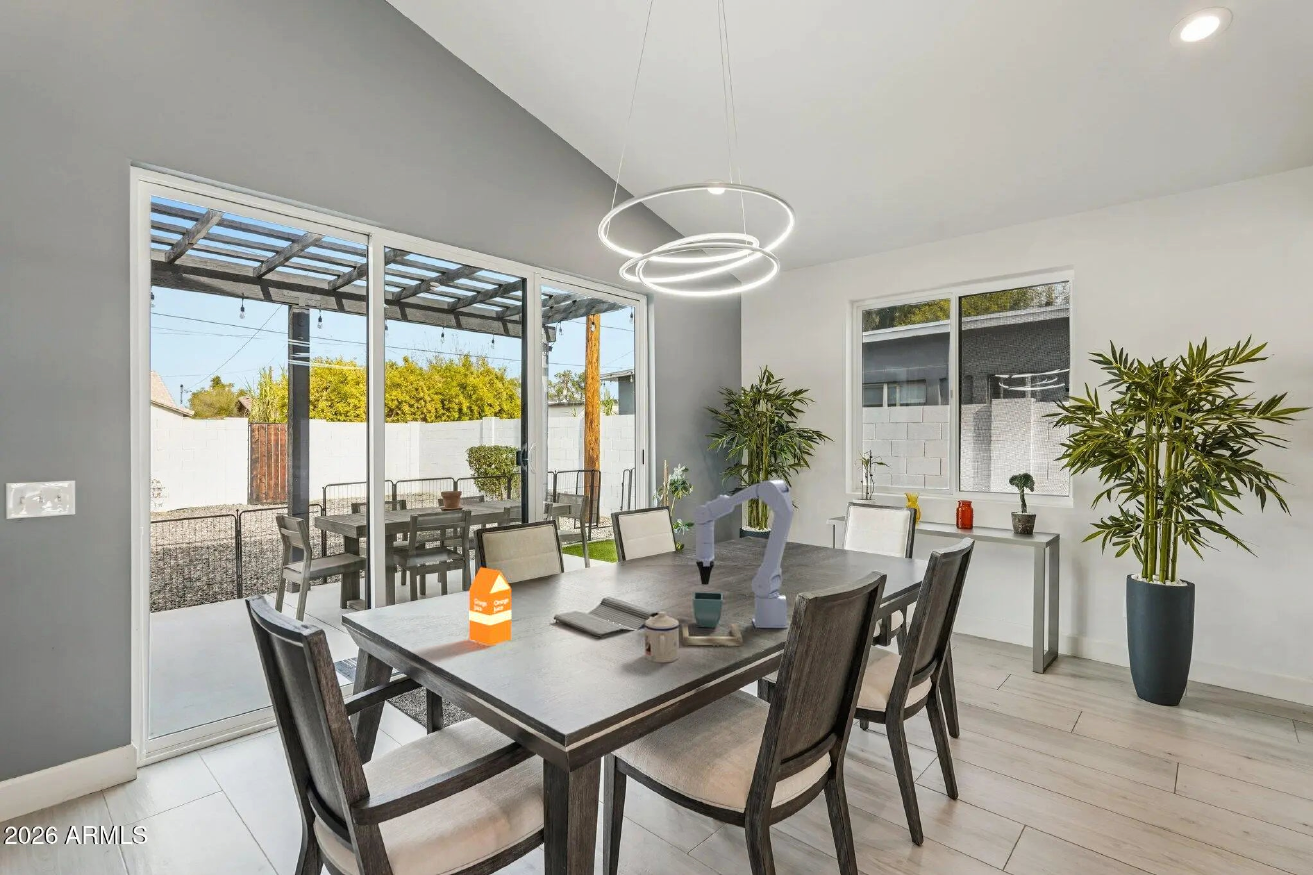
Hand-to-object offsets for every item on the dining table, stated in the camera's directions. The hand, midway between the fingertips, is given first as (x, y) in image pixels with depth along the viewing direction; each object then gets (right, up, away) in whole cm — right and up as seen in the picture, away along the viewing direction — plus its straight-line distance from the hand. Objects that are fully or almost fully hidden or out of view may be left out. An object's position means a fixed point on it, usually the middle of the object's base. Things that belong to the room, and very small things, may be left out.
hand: (704, 584), depth 201 cm
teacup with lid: (-14, -10, -42) cm, 45 cm away
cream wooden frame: (0, -9, -24) cm, 26 cm away
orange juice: (-62, -10, -27) cm, 69 cm away
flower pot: (0, -10, -13) cm, 16 cm away
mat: (-31, -10, -11) cm, 34 cm away
